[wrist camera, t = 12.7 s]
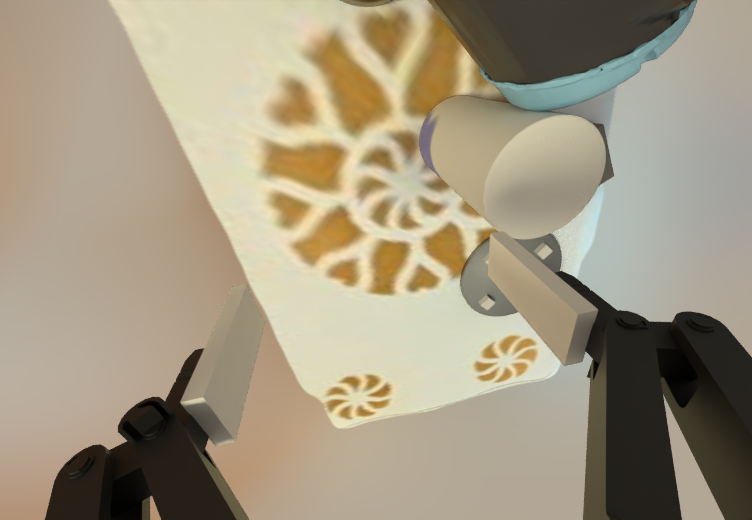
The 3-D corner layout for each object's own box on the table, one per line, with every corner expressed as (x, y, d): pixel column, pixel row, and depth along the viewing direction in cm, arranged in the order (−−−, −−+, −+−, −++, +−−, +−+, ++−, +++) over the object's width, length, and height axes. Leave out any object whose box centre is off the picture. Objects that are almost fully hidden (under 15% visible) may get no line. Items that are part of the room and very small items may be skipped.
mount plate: (463, 234, 49) (468, 240, 47) (567, 218, 50) (576, 223, 48) (458, 319, 58) (462, 327, 56) (546, 303, 59) (553, 310, 57)
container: (504, 137, 42) (624, 182, 25) (447, 188, 44) (521, 260, 28) (464, 76, 37) (579, 81, 20) (403, 137, 40) (460, 186, 23)
